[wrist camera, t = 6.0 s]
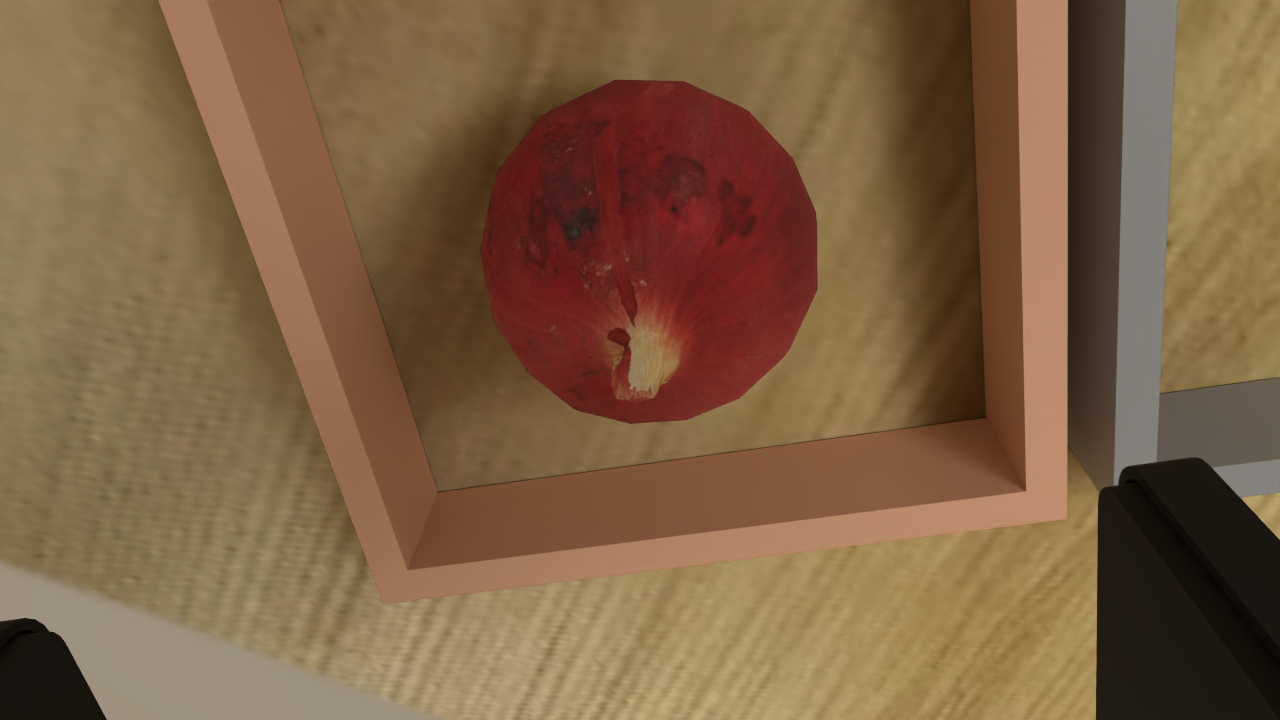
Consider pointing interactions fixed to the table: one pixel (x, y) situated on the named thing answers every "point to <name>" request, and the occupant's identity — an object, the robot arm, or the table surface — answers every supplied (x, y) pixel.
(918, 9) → the table surface
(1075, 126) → the frame
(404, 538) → the terracotta crate
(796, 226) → the onion
